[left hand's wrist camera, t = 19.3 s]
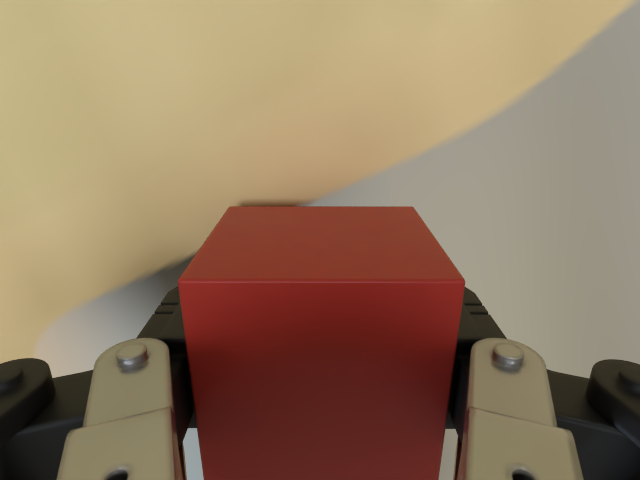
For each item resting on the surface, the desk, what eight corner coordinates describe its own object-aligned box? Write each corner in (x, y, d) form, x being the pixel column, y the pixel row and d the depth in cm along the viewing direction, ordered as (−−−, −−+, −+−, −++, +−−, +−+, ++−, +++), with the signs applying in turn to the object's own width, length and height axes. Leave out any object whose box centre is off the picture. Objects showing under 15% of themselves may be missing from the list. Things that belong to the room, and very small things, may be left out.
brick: (413, 205, 12) (466, 280, 7) (400, 362, 13) (437, 493, 9) (228, 205, 12) (176, 280, 7) (241, 362, 13) (204, 493, 9)
